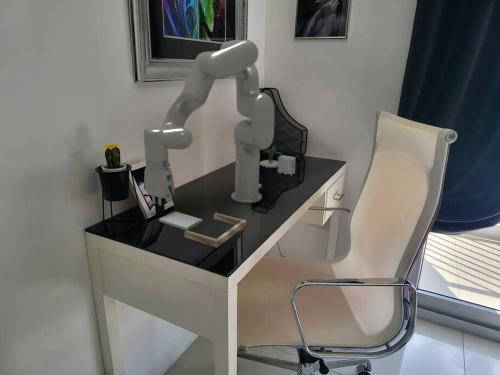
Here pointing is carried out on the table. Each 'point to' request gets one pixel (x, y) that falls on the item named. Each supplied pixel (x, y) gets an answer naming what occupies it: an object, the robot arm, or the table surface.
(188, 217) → the hard drive
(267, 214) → the table surface
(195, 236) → the wooden frame
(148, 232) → the table surface
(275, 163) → the potted plant
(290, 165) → the medicine box
